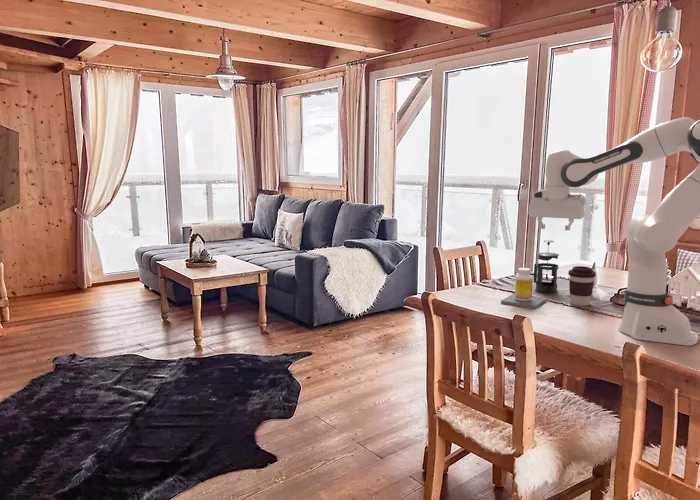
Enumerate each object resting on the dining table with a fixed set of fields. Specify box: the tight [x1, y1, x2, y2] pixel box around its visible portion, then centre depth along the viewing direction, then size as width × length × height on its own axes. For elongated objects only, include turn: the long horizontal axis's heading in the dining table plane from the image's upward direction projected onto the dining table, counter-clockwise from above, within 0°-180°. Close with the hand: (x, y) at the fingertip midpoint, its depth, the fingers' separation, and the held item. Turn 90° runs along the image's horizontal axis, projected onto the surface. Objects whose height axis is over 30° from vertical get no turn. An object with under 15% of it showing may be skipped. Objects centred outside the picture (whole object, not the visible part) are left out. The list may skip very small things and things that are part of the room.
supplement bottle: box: [514, 267, 534, 301], centre depth 205 cm, size 7×7×13 cm
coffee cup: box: [567, 265, 597, 307], centre depth 201 cm, size 10×10×15 cm
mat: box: [500, 293, 547, 310], centre depth 206 cm, size 14×13×1 cm
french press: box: [533, 239, 560, 295], centre depth 221 cm, size 12×9×23 cm
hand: (554, 229), depth 194 cm, fingers open, 8 cm apart
